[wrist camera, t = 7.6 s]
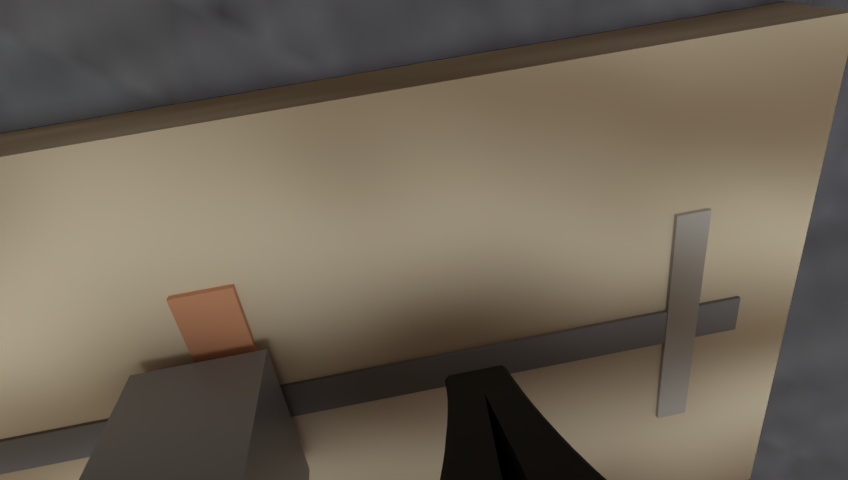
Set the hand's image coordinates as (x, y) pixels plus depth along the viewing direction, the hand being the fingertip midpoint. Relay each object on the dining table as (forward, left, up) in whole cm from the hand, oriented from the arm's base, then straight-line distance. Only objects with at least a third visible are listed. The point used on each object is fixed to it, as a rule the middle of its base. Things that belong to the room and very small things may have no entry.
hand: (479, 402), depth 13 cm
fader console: (0, +3, -3) cm, 4 cm away
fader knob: (0, +6, -1) cm, 6 cm away
